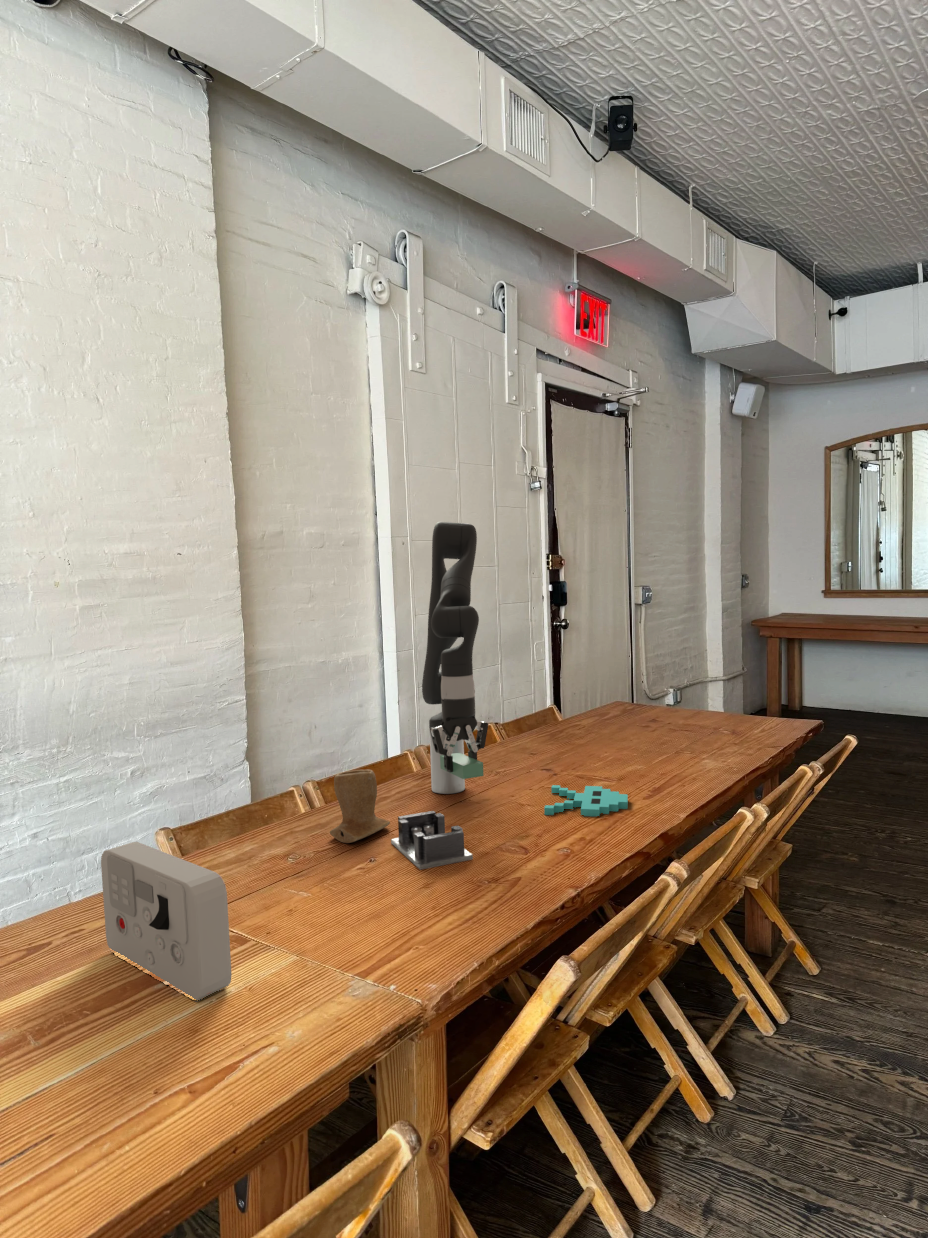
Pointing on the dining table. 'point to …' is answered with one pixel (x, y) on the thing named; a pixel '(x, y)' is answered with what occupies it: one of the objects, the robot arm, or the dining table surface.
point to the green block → (464, 766)
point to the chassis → (430, 840)
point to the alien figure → (588, 801)
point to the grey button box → (167, 917)
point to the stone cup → (357, 805)
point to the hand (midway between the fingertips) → (460, 769)
